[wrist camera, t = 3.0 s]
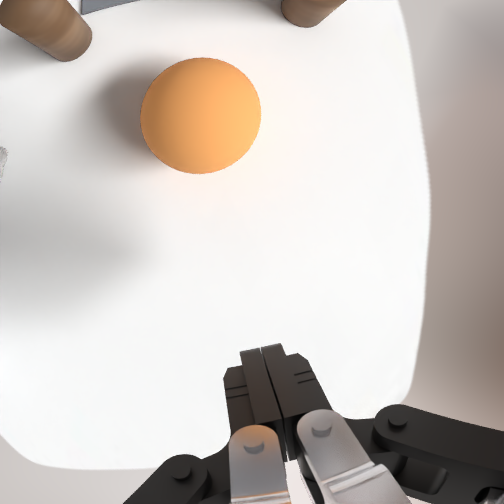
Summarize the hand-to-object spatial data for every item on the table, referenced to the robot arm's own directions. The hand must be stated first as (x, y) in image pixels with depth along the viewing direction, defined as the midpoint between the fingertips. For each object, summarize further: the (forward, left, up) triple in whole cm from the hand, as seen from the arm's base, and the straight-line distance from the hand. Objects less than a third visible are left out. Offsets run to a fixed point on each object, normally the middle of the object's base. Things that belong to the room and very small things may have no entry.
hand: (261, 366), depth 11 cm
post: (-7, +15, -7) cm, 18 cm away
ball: (-1, +9, -5) cm, 10 cm away
